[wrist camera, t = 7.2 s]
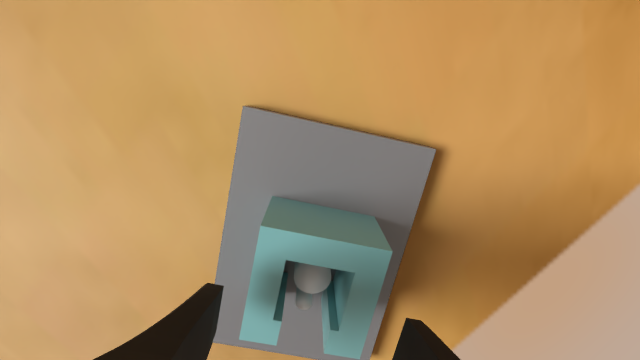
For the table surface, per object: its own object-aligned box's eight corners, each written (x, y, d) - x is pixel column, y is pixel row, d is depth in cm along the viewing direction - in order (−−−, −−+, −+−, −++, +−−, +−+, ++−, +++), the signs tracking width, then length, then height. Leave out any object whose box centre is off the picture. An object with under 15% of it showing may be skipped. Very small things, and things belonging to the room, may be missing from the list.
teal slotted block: (272, 195, 17) (260, 225, 13) (374, 216, 17) (392, 251, 13) (254, 287, 18) (238, 339, 14) (349, 304, 18) (359, 359, 15)
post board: (364, 354, 21) (374, 405, 17) (210, 329, 20) (190, 376, 16) (429, 146, 17) (458, 158, 14) (246, 105, 16) (230, 107, 13)
